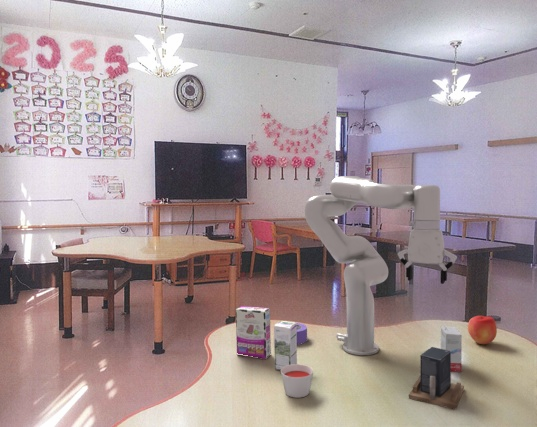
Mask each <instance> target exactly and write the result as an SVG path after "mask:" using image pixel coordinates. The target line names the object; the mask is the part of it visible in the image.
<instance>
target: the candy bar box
mask: <svg viewBox="0 0 537 427" xmlns="http://www.w3.org/2000/svg"><path fill="white" fill-rule="evenodd" d="M235 329H236V330H235V332H236V334H235V335H236V354H237V353H238V354H243V355H248V356H253V357H258V358H257V359H260V358H262V360H266V358H267V357H268V356H269V355H270V354H271V355H272V348H271V347H272V346H271V344H272V341H271V340H272V339H271V309H270V308H269V307H260V306H259V307H258V306H257V307H256V306H246V305H241V306H239V307H237V308H236V309H235ZM271 355H270V356H271ZM270 356H269V357H270ZM253 357H252V358H253ZM269 357H268V358H269ZM268 358H267V359H268Z"/></svg>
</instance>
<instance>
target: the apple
mask: <svg viewBox="0 0 537 427" xmlns="http://www.w3.org/2000/svg"><path fill="white" fill-rule="evenodd" d="M467 331H468V334H469V336H470V337H471V339H472V340H473V341H474V342H475V343H477V344H479V345H488V344H490V343H492V342H493V341H494V340H495V339H496V337H497V332H498V327H497V323H496V320H495V319H494V318H493V317H492V316H484V315H476V316H473V317H472V318H470V319H469V321H468V323H467Z"/></svg>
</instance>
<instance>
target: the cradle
mask: <svg viewBox="0 0 537 427" xmlns="http://www.w3.org/2000/svg"><path fill="white" fill-rule="evenodd" d="M464 390H465V385H462V382H458V381H457V382H456V383H453V382H451V387H450V388H449V389H448V390H447V391H446V392H445V393H444V394H443V395H442V396H441V397H437V396H435V376H430V394H427V393H424V392H421V391H420V375H419V376H418V378H417V379H416V381H415V383H414V384H413V386H412V389H411V391H410V392H409V394H408V399H410V400H414V401H419V402H423V403H428V404H432V405H435V406H436V405H437V406H440V407H441V406H442V407H443V408H444V407H445V408H448V409H449V408H450V409H453V410H457V408H458V405H459V402H460V400H461V398H462V395H463V392H464Z"/></svg>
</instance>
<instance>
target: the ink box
mask: <svg viewBox="0 0 537 427" xmlns="http://www.w3.org/2000/svg"><path fill="white" fill-rule="evenodd" d="M462 340H463V339H462V334H461V332H460V331H459V330H458V328H457V327H456V326H446V325H441V326H440V349H444V350H448V351H450V352H451V372H456V373H457V372H460V373H461V372H462V367H463V366H462V362H463V361H462V355H463V354H462V348H463V347H462Z"/></svg>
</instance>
